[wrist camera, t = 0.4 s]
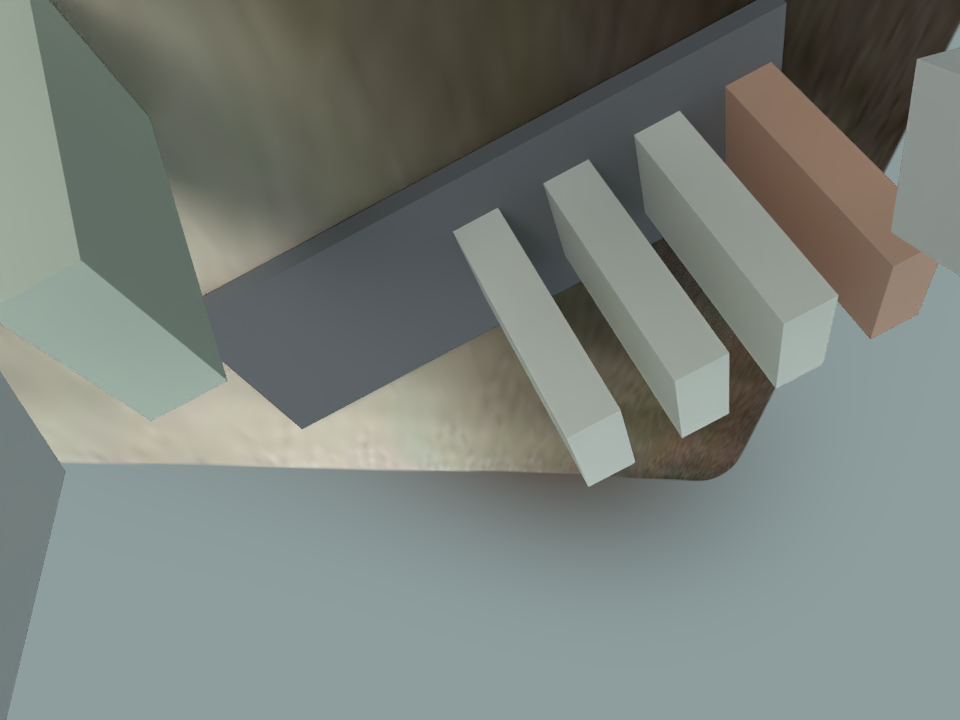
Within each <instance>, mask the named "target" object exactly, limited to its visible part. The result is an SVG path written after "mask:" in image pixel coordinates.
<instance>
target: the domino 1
mask: <svg viewBox="0 0 960 720" xmlns="http://www.w3.org/2000/svg"><path fill="white" fill-rule="evenodd" d="M0 324H1V325H3V326H4V327H6V328H7V329H9V330H11V331H12V332H14V333H15V334H17V335H18V336H20V337H21V338H23V339H25V340H26V341H28V342H29V343H31V344H32V345H34V346H35V347H37V348H39V349H40V350H42V351H43V352H45V353H46V354H48V355H49V356H51V357H53V358H54V359H56V360H57V361H59V362H60V363H62V364H63V365H65V366H67V367H68V368H70V369H71V370H73V371H74V372H76V373H77V374H79V375H81V376H82V377H84V378H85V379H87V380H88V381H90V382H91V383H93V384H95V385H96V386H98V387H99V388H101V389H102V390H104V391H105V392H107V393H109V394H110V395H112V396H113V397H115V398H116V399H118V400H119V401H121V402H123V403H124V404H126V405H127V406H129V407H130V408H132V409H133V410H135V411H137V412H138V413H140V414H141V415H143V416H144V417H146V418H147V419H149V420H151V421H152V420H154V419H156V418H158V417H160V416H162V415H164V414H165V413H167V412H169V411H171V410H173V409H175V408H177V407H179V406H180V405H182V404H184V403H186V402H188V401H190V400H192V399H194V398H195V397H197V396H199V395H201V394H203V393H205V392H207V391H209V390H211V389H212V388H214V387H216V386H218V385H220V384H222V383H224V382H226V381H227V378H226V374H225V371H224V368H223V364H222V361H221V357H220V354H219V351H218V347H217V344H216V341H215V337H214V334H213V331H212V327H211V324H210V320H209V317H208V314H207V310H206V307H205V304H204V300H203V297H202V293H201V290H200V287H199V283H198V280H197V277H196V273H195V270H194V266H193V263H192V260H191V256H190V253H189V250H188V246H187V243H186V239H185V236H184V233H183V229H182V226H181V223H180V219H179V216H178V212H177V209H176V206H175V202H174V199H173V196H172V192H171V189H170V185H169V182H168V179H167V175H166V172H165V169H164V165H163V162H162V159H161V155H160V152H159V148H158V145H157V142H156V138H155V135H154V132H153V128H152V125H151V121H150V118H149V116H148V115H147V114H146V113H145V112H144V111H143V109H142V108H141V107H140V106H139V105H138V104H137V102H136V101H135V100H134V99H133V98H132V97H131V95H130V94H129V93H128V92H127V91H126V90H125V88H124V87H123V86H122V85H121V84H120V83H119V81H118V80H117V79H116V78H115V77H114V76H113V74H112V73H111V72H110V71H109V70H108V69H107V67H106V66H105V65H104V64H103V63H102V62H101V60H100V59H99V58H98V57H97V56H96V55H95V53H94V52H93V51H92V50H91V49H90V48H89V46H88V45H87V44H86V43H85V42H84V41H83V39H82V38H81V37H80V36H79V35H78V34H77V32H76V31H75V30H74V29H73V28H72V27H71V25H70V24H69V23H68V22H67V21H66V20H65V18H64V17H63V16H62V15H61V14H60V13H59V11H58V10H57V9H56V8H55V7H54V6H53V5H52V3H51V2H50V1H49V0H0Z"/></svg>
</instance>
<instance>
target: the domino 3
mask: <svg viewBox="0 0 960 720" xmlns="http://www.w3.org/2000/svg"><path fill="white" fill-rule="evenodd" d="M543 185H544V188H545V191H546V195H547V198H548V201H549V204H550V208H551V211H552V214H553V218H554V221H555V224H556V228H557V231H558V234H559V238H560V241H561V244H562V247H563V251H564V254H565V256H566V258H567V259H568V261H569V262H570V264H571V266H572V267H573V269H574V270H575V272H576V273H577V275H578V277H579V278H580V280H581V281H582V283H583V284H584V286H585V287H586V289H587V291H588V292H589V294H590V295H591V297H592V298H593V300H594V301H595V303H596V305H597V306H598V308H599V309H600V311H601V312H602V314H603V316H604V317H605V319H606V320H607V322H608V323H609V325H610V326H611V328H612V330H613V331H614V333H615V334H616V336H617V337H618V339H619V340H620V342H621V344H622V345H623V347H624V348H625V350H626V351H627V353H628V355H629V356H630V358H631V359H632V361H633V362H634V364H635V365H636V367H637V369H638V370H639V372H640V373H641V375H642V376H643V378H644V380H645V381H646V383H647V384H648V386H649V387H650V389H651V390H652V392H653V394H654V395H655V397H656V398H657V400H658V401H659V403H660V404H661V406H662V408H663V409H664V411H665V412H666V414H667V415H668V417H669V419H670V420H671V422H672V423H673V425H674V426H675V428H676V429H677V431H678V433H679V434H680V436H681V437H682V438H683V437H685V436H687V435H689V434H691V433H693V432H694V431H696V430H698V429H700V428H702V427H704V426H706V425H708V424H710V423H712V422H713V421H715V420H717V419H719V418H721V417H723V416H725V415H727V414H729V352H728V351H727V349H726V348H725V346H724V345H723V344H722V342H721V341H720V340H719V338H718V337H717V335H716V334H715V333H714V331H713V330H712V329H711V327H710V326H709V324H708V323H707V322H706V320H705V319H704V317H703V316H702V315H701V313H700V312H699V311H698V309H697V308H696V306H695V305H694V304H693V302H692V301H691V300H690V298H689V297H688V295H687V294H686V293H685V291H684V290H683V289H682V287H681V286H680V284H679V283H678V282H677V280H676V279H675V278H674V276H673V275H672V273H671V272H670V271H669V269H668V268H667V267H666V265H665V264H664V262H663V261H662V260H661V258H660V257H659V256H658V254H657V253H656V251H655V250H654V249H653V247H652V246H651V245H650V243H649V242H648V240H647V239H646V238H645V236H644V235H643V234H642V232H641V231H640V229H639V228H638V227H637V225H636V224H635V223H634V221H633V220H632V218H631V217H630V216H629V214H628V213H627V212H626V210H625V209H624V207H623V206H622V205H621V203H620V202H619V201H618V199H617V198H616V196H615V195H614V194H613V192H612V191H611V189H610V188H609V187H608V185H607V184H606V183H605V181H604V180H603V178H602V177H601V176H600V174H599V173H598V172H597V170H596V169H595V167H594V166H593V165H592V163H591V162H590V161H589V159H588V160H586V161H584V162H582V163H581V164H579V165H577V166H575V167H573V168H571V169H569V170H567V171H566V172H564V173H562V174H560V175H558V176H556V177H554V178H552V179H551V180H549V181H547V182H545V183H543Z"/></svg>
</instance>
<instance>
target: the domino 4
mask: <svg viewBox="0 0 960 720" xmlns="http://www.w3.org/2000/svg"><path fill="white" fill-rule="evenodd" d="M634 138H635V145H636V153H637V160H638V167H639V174H640V181H641V188H642V195H643V202H644V209H645V213H646V215H647V216H648V217H649V219H650V220H651V221H652V223H653V224H654V225H655V227H656V228H657V229H658V231H659V232H660V233H661V235H662V236H663V238H664V239H665V240H666V242H667V243H668V244H669V246H670V247H671V248H672V250H673V251H674V252H675V254H676V255H677V256H678V258H679V259H680V260H681V262H682V263H683V264H684V266H685V267H686V268H687V270H688V271H689V272H690V274H691V275H692V277H693V278H694V279H695V281H696V282H697V283H698V285H699V286H700V287H701V289H702V290H703V291H704V293H705V294H706V295H707V297H708V298H709V299H710V301H711V302H712V303H713V305H714V306H715V307H716V309H717V310H718V312H719V313H720V314H721V316H722V317H723V318H724V320H725V321H726V322H727V324H728V325H729V326H730V328H731V329H732V330H733V332H734V333H735V334H736V336H737V337H738V338H739V340H740V341H741V342H742V344H743V345H744V346H745V348H746V349H747V351H748V352H749V353H750V355H751V356H752V357H753V359H754V360H755V361H756V363H757V364H758V365H759V367H760V368H761V369H762V371H763V372H764V373H765V375H766V376H767V377H768V379H769V380H770V381H771V383H772V384H773V385H774V387H775V388H778V387H780V386H782V385H784V384H786V383H788V382H790V381H792V380H794V379H795V378H797V377H799V376H801V375H803V374H805V373H807V372H809V371H811V370H813V369H814V368H817V367H818V366H820V365H822V364H823V362H824V358H825V353H826V349H827V345H828V340H829V336H830V331H831V327H832V322H833V317H834V313H835V309H836V304H837V300H838V296H839V295H838V294H837V293H836V292H835V291H834V290H833V288H832V287H831V286H830V285H829V284H828V283H827V281H826V280H825V279H824V278H823V277H822V276H821V274H820V273H819V272H818V271H817V270H816V269H815V267H814V266H813V265H812V264H811V263H810V262H809V260H808V259H807V258H806V257H805V256H804V255H803V253H802V252H801V251H800V250H799V249H798V248H797V247H796V245H795V244H794V243H793V242H792V241H791V240H790V238H789V237H788V236H787V235H786V234H785V233H784V231H783V230H782V229H781V228H780V227H779V226H778V224H777V223H776V222H775V221H774V220H773V219H772V217H771V216H770V215H769V214H768V213H767V212H766V210H765V209H764V208H763V207H762V206H761V205H760V204H759V202H758V201H757V200H756V199H755V198H754V197H753V195H752V194H751V193H750V192H749V191H748V190H747V188H746V187H745V186H744V185H743V184H742V183H741V181H740V180H739V179H738V178H737V177H736V176H735V174H734V173H733V172H732V171H731V170H730V169H729V167H728V166H727V165H726V164H725V163H724V162H723V161H722V159H721V158H720V157H719V156H718V155H717V154H716V152H715V151H714V150H713V149H712V148H711V147H710V145H709V144H708V143H707V142H706V141H705V140H704V138H703V137H702V136H701V135H700V134H699V133H698V131H697V130H696V129H695V128H694V127H693V126H692V124H691V123H690V122H689V121H688V120H687V119H686V117H685V116H684V115H683V114H682V113H681V112H680V111H678V112H676V113H674V114H672V115H671V116H669V117H667V118H665V119H663V120H661V121H659V122H657V123H656V124H654V125H652V126H650V127H648V128H646V129H644V130H642V131H641V132H639V133H637V134H635V135H634Z"/></svg>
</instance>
